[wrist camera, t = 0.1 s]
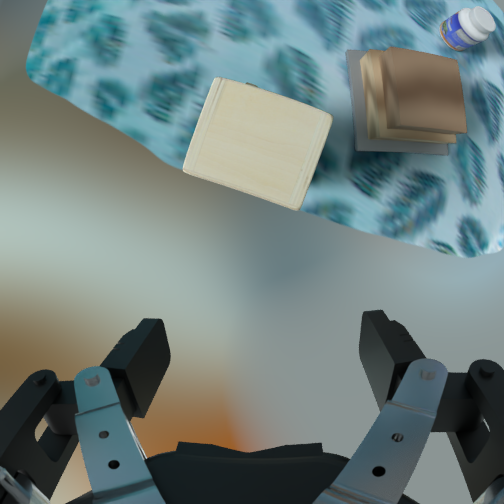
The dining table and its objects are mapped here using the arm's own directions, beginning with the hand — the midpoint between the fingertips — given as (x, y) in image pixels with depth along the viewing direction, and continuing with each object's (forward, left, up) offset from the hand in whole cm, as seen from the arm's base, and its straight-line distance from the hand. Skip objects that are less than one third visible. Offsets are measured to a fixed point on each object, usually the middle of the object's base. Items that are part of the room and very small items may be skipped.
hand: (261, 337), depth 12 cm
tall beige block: (-8, 0, -30) cm, 31 cm away
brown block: (-15, +19, -28) cm, 37 cm away
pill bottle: (-28, +31, -30) cm, 51 cm away
